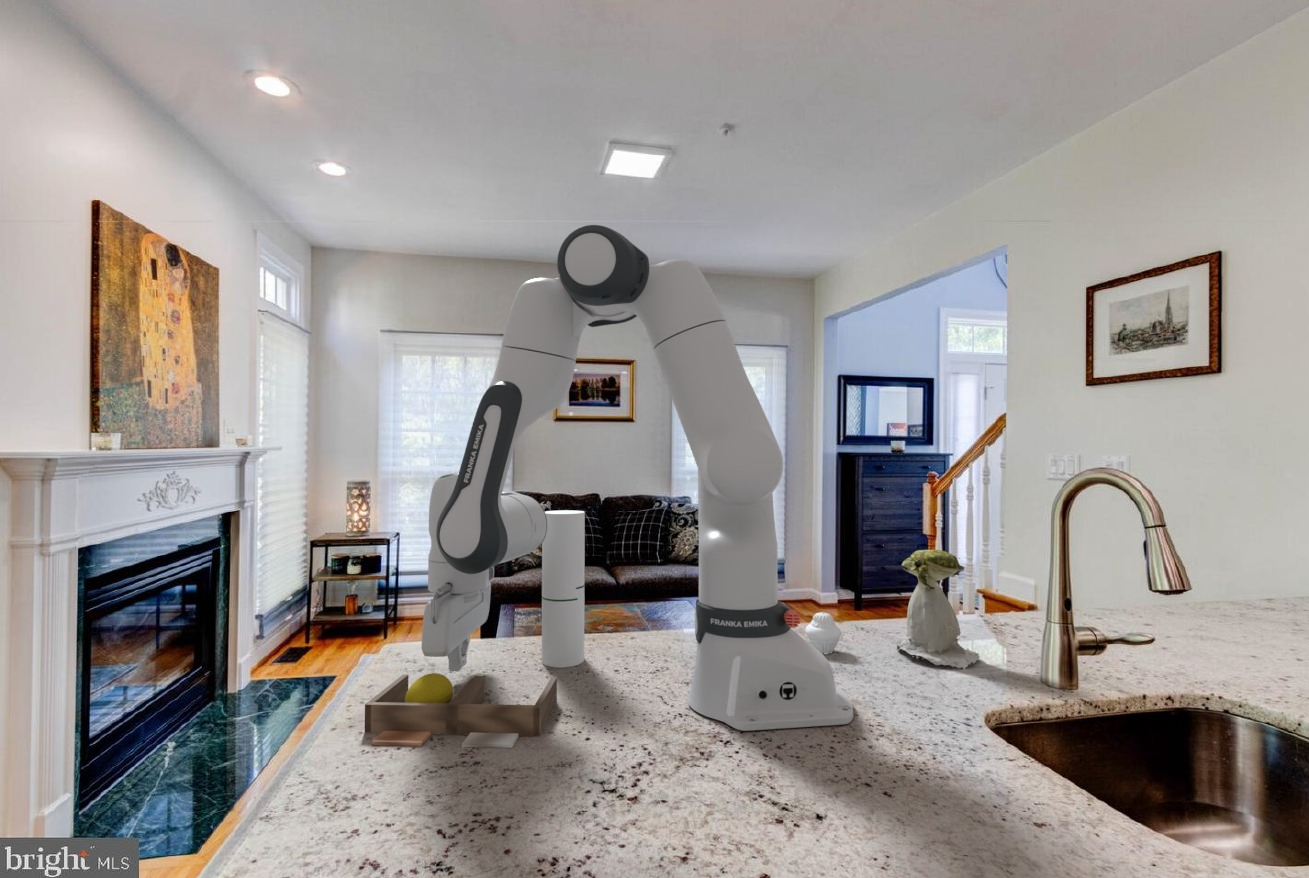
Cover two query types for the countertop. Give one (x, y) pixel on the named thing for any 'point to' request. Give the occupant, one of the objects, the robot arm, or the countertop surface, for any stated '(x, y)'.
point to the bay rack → (455, 716)
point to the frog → (934, 611)
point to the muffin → (823, 632)
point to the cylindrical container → (563, 588)
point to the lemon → (430, 690)
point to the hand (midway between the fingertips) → (457, 667)
